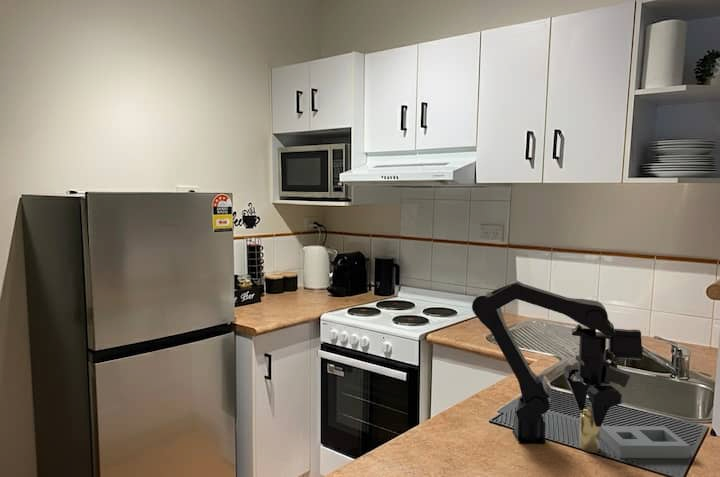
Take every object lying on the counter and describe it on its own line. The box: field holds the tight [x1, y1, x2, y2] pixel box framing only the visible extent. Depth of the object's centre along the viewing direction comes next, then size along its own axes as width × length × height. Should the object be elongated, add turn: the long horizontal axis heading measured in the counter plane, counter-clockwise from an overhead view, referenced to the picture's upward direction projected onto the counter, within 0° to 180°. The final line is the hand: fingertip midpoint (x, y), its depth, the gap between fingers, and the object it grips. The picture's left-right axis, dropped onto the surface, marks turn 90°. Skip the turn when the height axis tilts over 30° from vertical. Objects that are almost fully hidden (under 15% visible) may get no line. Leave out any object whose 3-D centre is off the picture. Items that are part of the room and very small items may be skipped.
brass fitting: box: [578, 406, 601, 453], centre depth 123 cm, size 4×4×10 cm
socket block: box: [599, 425, 691, 459], centre depth 123 cm, size 16×10×3 cm, turn 89°
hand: (589, 417), depth 123 cm, fingers open, 9 cm apart
